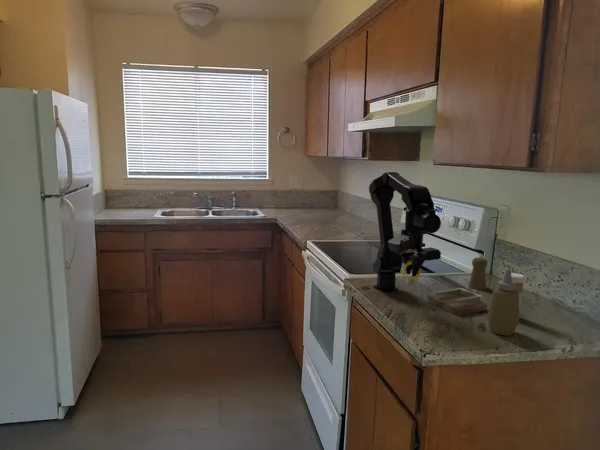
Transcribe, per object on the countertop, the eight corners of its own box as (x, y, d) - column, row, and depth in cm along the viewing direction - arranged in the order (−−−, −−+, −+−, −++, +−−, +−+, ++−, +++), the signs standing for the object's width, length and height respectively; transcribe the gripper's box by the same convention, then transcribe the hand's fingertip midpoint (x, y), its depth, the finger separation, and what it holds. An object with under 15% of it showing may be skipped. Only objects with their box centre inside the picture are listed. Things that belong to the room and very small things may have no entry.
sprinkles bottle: (500, 314, 138) (504, 272, 136) (514, 314, 138) (519, 272, 136) (508, 320, 134) (513, 277, 131) (523, 320, 134) (528, 276, 132)
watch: (405, 281, 140) (404, 263, 139) (400, 279, 143) (400, 261, 142) (422, 279, 142) (422, 261, 141) (417, 276, 144) (417, 259, 143)
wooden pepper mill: (486, 290, 160) (489, 261, 158) (468, 288, 162) (471, 259, 160) (485, 285, 166) (488, 257, 164) (468, 283, 168) (470, 255, 166)
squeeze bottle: (523, 337, 122) (531, 274, 118) (495, 338, 121) (501, 274, 118) (507, 325, 130) (514, 265, 126) (480, 326, 129) (486, 265, 126)
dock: (428, 302, 147) (429, 290, 147) (455, 297, 153) (456, 286, 152) (459, 316, 136) (460, 303, 135) (486, 310, 142) (487, 297, 141)
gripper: (375, 223, 144) (372, 270, 146) (415, 234, 127) (411, 287, 130) (402, 221, 149) (399, 266, 152) (443, 231, 133) (440, 282, 135)
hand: (411, 275), depth 142 cm, fingers closed on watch, 2 cm apart
